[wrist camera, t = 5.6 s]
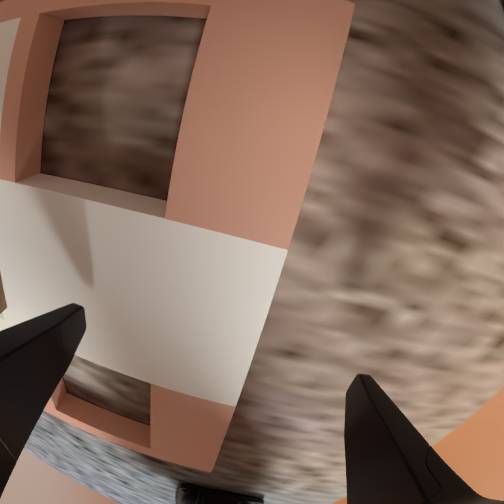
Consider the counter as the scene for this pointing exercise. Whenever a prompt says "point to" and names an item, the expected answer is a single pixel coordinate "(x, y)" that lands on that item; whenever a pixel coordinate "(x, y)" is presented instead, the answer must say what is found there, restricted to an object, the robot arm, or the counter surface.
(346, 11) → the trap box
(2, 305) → the walnut block
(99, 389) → the counter surface
